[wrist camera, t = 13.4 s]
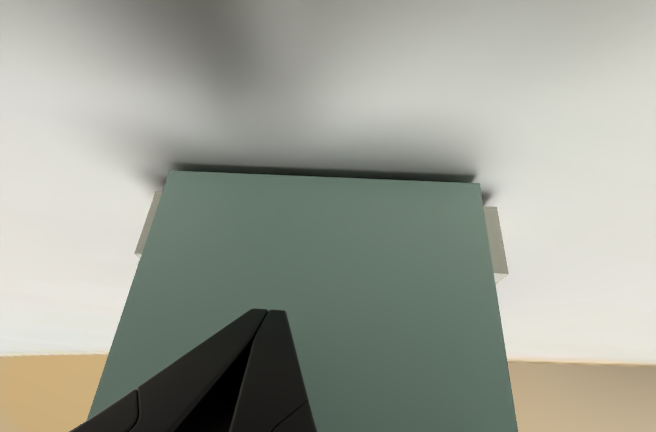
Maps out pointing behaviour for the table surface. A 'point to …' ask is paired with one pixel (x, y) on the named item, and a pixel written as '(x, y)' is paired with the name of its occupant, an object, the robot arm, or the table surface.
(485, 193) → the table surface
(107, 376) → the tray
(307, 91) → the table surface
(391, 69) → the table surface
